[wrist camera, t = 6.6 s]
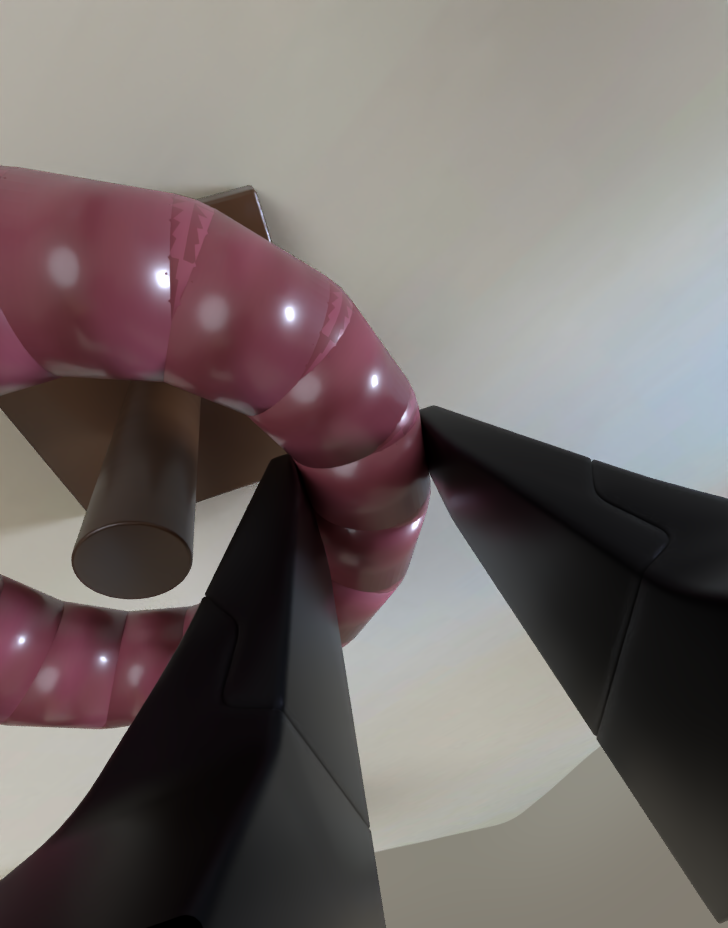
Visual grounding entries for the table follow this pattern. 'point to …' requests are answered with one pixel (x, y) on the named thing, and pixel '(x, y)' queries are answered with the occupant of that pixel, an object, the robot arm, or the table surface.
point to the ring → (206, 375)
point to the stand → (142, 458)
